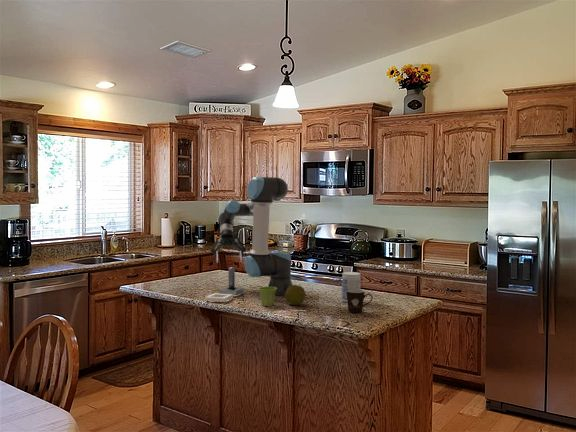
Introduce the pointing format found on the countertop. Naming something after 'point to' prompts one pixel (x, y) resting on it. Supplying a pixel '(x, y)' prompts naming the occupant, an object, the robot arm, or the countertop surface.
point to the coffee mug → (356, 300)
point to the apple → (295, 295)
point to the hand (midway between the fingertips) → (229, 261)
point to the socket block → (228, 291)
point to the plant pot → (267, 295)
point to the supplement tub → (350, 283)
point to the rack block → (219, 297)
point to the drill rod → (231, 278)
